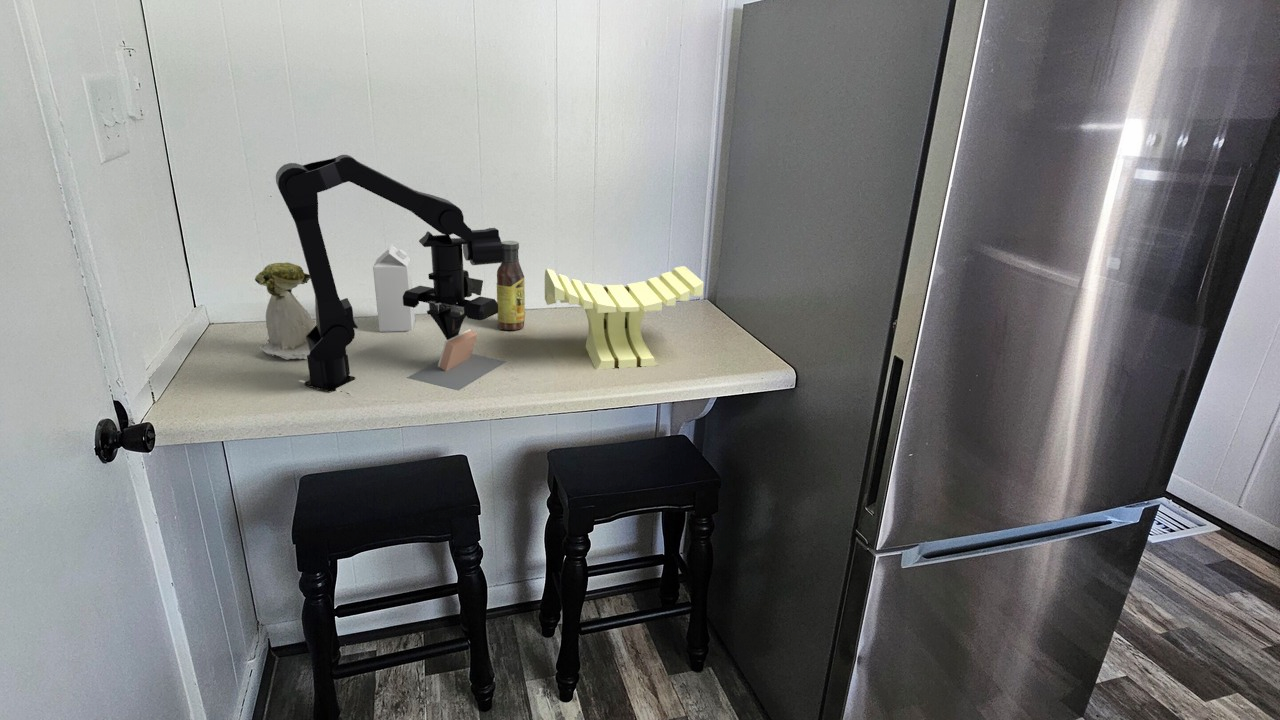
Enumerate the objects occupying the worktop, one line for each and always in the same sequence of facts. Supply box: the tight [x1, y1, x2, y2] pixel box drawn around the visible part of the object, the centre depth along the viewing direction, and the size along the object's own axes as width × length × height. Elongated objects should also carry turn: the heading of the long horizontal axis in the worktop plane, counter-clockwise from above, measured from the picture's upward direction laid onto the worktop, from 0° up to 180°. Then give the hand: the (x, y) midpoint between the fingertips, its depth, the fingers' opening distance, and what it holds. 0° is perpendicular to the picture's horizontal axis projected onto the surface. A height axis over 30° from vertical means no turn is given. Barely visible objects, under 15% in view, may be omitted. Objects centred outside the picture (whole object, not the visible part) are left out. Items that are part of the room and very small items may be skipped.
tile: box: [438, 328, 479, 371], centre depth 142 cm, size 8×2×6 cm, turn 157°
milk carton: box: [372, 240, 416, 333], centre depth 159 cm, size 7×7×19 cm
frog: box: [254, 262, 316, 360], centre depth 143 cm, size 12×13×18 cm
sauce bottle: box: [496, 240, 526, 331], centre depth 162 cm, size 7×6×20 cm
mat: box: [406, 353, 507, 391], centre depth 141 cm, size 16×12×1 cm
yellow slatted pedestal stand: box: [544, 265, 705, 370], centre depth 150 cm, size 30×16×18 cm, turn 104°
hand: (452, 343), depth 142 cm, fingers closed
